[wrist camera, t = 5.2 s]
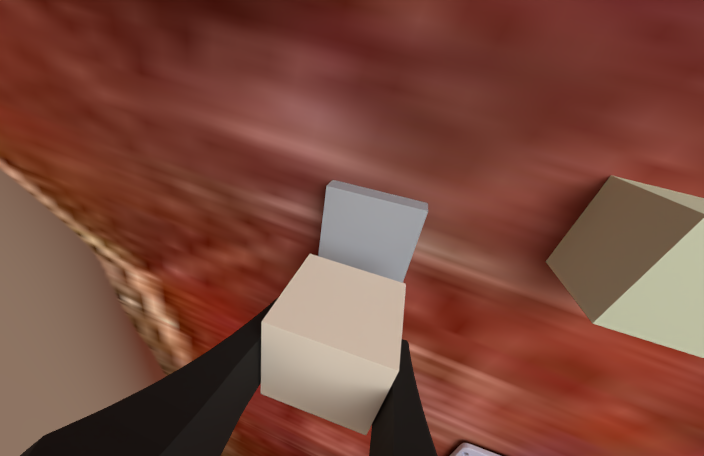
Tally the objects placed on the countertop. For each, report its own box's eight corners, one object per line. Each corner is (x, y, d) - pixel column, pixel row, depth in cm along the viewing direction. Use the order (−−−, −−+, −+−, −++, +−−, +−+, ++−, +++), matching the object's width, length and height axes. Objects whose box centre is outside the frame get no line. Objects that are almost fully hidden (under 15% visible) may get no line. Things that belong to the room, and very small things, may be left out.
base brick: (383, 325, 18) (380, 344, 16) (318, 305, 18) (310, 321, 17) (427, 199, 13) (428, 211, 11) (335, 177, 13) (326, 185, 12)
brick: (380, 346, 13) (366, 435, 10) (301, 318, 14) (260, 393, 10) (405, 283, 11) (399, 371, 7) (309, 253, 11) (261, 321, 8)
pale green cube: (641, 288, 12) (732, 366, 8) (544, 260, 12) (592, 323, 9) (732, 205, 10) (906, 265, 6) (609, 174, 10) (706, 215, 7)
